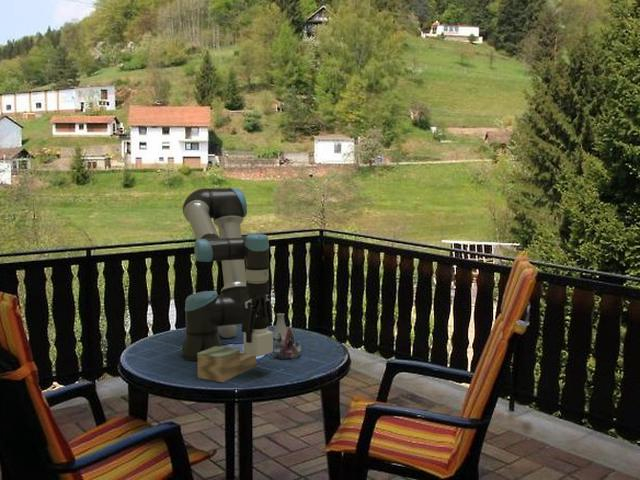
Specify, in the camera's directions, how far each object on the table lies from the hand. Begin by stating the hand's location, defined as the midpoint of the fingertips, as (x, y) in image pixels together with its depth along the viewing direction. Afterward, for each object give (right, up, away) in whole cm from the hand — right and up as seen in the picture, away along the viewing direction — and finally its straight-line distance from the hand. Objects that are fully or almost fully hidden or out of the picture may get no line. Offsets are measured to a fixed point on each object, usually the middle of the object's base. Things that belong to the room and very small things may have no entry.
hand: (257, 348), depth 214 cm
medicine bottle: (0, -2, 0) cm, 2 cm away
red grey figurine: (+9, -7, +22) cm, 25 cm away
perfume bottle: (-18, -4, +50) cm, 53 cm away
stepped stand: (-10, -9, +4) cm, 14 cm away
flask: (+5, -4, +48) cm, 49 cm away
